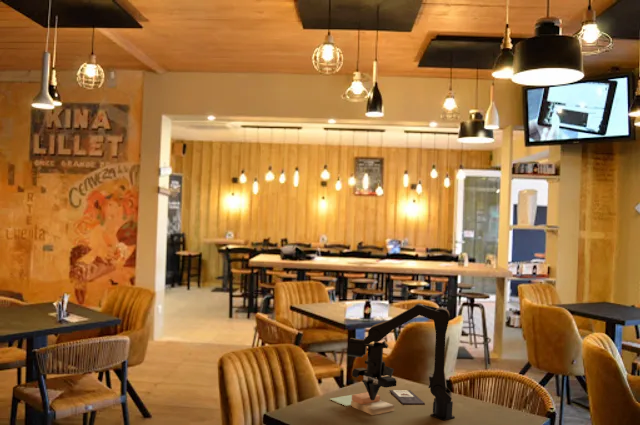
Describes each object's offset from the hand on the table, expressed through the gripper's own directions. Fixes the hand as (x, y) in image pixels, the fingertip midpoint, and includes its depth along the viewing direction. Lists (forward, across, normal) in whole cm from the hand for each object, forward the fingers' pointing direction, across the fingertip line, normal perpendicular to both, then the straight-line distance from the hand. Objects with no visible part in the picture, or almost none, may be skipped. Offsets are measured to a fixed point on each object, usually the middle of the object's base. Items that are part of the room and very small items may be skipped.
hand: (372, 400), depth 231 cm
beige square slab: (+3, 0, 0) cm, 3 cm away
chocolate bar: (+4, +4, -23) cm, 23 cm away
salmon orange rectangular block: (+1, +4, 0) cm, 4 cm away
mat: (+3, +12, 0) cm, 12 cm away
